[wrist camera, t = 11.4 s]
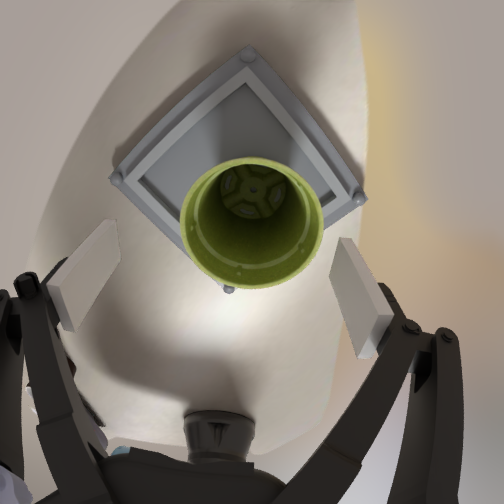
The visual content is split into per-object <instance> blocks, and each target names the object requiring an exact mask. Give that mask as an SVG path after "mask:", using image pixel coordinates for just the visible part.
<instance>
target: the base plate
mask: <svg viewBox="0 0 504 504" xmlns="http://www.w3.org/2000/svg"><path fill="white" fill-rule="evenodd" d="M248 156H258V157H263V158H266V159H269V160H273V161H276V162H279V163H281V164H284V165H286V166H288V167H290V168H291V169H293V170H294V171H296V172H297V173H298V174H300V175H301V176H302V177H303V178H304V179H305V180H306V181H307V182H308V183H309V185H310V186H311V187H312V188H313V190H314V192H315V193H316V195H317V197H318V199H319V202H320V204H321V207H322V211H323V218H324V230H325V229H326V228H328V227H329V226H331V225H332V224H334V223H335V222H337V221H338V220H339V219H341V218H342V217H344V216H345V215H347V214H348V213H350V212H351V211H352V210H354V209H355V208H357V207H358V206H361V205H363V204H364V203H365V201H367V200H368V198H367V196H366V195H365V193H364V191H363V190H362V188H361V187H360V185H359V183H358V182H357V180H356V179H355V177H354V176H353V174H352V173H351V171H350V169H349V168H348V166H347V165H346V163H345V162H344V161H343V159H342V158H341V156H340V155H339V153H338V152H337V150H336V149H335V147H334V146H333V145H332V143H331V142H330V140H329V139H328V138H327V136H326V135H325V134H324V132H323V131H322V129H321V128H320V127H319V125H318V124H317V123H316V121H315V120H314V119H313V118H312V116H311V115H310V114H309V112H308V111H307V110H306V108H305V107H304V106H303V105H302V103H301V102H300V101H299V100H298V98H297V97H296V96H295V95H294V94H293V92H292V91H291V90H290V89H289V88H288V86H287V85H286V84H285V83H284V82H283V80H282V79H281V78H280V77H279V76H278V75H277V74H276V72H275V71H274V70H273V69H272V68H271V67H270V66H269V65H268V63H267V62H266V61H265V60H264V59H263V58H262V57H261V56H260V55H259V54H258V53H257V52H256V50H255V49H254V48H253V47H252V46H251V45H250V44H249V45H248V46H247V47H245V48H244V49H243V50H241V51H240V52H239V53H237V54H236V55H235V56H233V57H232V58H231V59H229V60H228V61H227V62H225V63H224V64H223V65H222V66H220V67H219V68H218V69H217V70H215V71H214V72H213V73H212V74H211V75H209V76H208V77H207V78H206V79H205V80H203V81H202V82H201V83H200V84H199V85H198V86H196V87H195V88H194V89H193V90H192V91H191V92H190V93H189V94H187V95H186V96H185V97H184V98H183V99H182V100H181V101H180V102H179V103H178V104H177V105H176V106H174V107H173V108H172V109H171V110H170V111H169V112H168V113H167V114H166V115H165V116H164V117H163V118H162V119H161V120H160V121H159V122H158V123H157V124H156V125H155V126H154V127H153V128H152V129H151V130H150V131H149V132H148V133H147V134H146V135H145V137H144V138H143V139H142V140H141V141H140V142H139V143H138V144H137V145H136V146H135V147H134V148H133V150H132V151H131V152H130V153H129V154H128V155H127V156H126V157H125V159H124V160H123V161H122V162H121V163H120V164H119V165H118V167H117V168H116V169H115V170H114V171H113V173H112V174H111V175H110V176H109V177H108V178H109V179H110V182H111V183H112V185H114V186H116V187H117V188H118V189H119V190H120V191H121V192H122V193H123V194H124V195H125V196H126V197H127V198H128V199H129V200H130V201H131V202H132V203H133V204H134V205H135V206H136V207H137V208H138V209H139V210H140V211H141V212H142V213H143V214H144V215H145V216H146V217H147V218H148V219H149V220H150V221H151V222H152V223H153V224H154V225H156V226H157V227H158V228H159V229H160V230H161V231H162V232H163V233H164V234H165V235H166V236H167V237H168V238H169V239H170V240H171V241H172V242H173V243H174V244H175V245H176V246H177V247H178V248H179V249H181V250H182V251H183V252H184V253H185V254H186V255H187V256H188V257H189V258H190V259H191V257H190V256H189V254H188V253H187V251H186V249H185V246H184V244H183V241H182V237H181V233H180V213H181V208H182V204H183V201H184V198H185V196H186V194H187V192H188V191H189V189H190V188H191V186H192V185H193V184H194V182H195V181H196V180H197V179H198V178H199V177H200V176H201V175H202V174H204V173H205V172H206V171H208V170H209V169H211V168H212V167H214V166H216V165H218V164H220V163H223V162H225V161H228V160H232V159H237V158H243V157H248ZM253 165H257V166H261V167H264V168H268V166H264V165H258V164H253ZM231 178H232V176H231V175H230V176H228V178H227V180H226V183H225V188H226V189H227V190H228V189H229V183H230V180H231ZM251 192H256V188H254V187H252V188H251ZM280 195H281V190H280V188H279V189H278V193H277V196H276V198H275V199H274V202H277V201H278V200H279V198H280ZM240 211H241V212H242V213H245V214H250V215H252V214H254V212H250V211H246V210H244V209H240ZM191 260H192V259H191ZM212 279H213V278H212ZM213 280H214V281H215V282H216V283H217V284H218V285H220V286H221V287H222V288H223V290H224V292H225V293H228V294H231V293H233V292H234V290H236V289H237V288H236V287H232V286H228V285H225V284H223V283H220V282H218V281H217V280H215V279H213Z"/></svg>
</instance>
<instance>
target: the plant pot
mask: <svg viewBox="0 0 504 504" xmlns="http://www.w3.org/2000/svg"><path fill="white" fill-rule="evenodd" d="M253 164H258V165H264V166H268V168H264V167H261V166H257V165H253ZM230 175H231V176H232V178H231V180H230V183H229V189H228V190H227V189H226V188H225V183H226V180H227V178H228V176H230ZM252 187H254V188H256V192H251V188H252ZM279 188H280V190H281V195H280V198H279V200H278V201H277V202H274V199H275V198H276V196H277V193H278V189H279ZM240 209H244V210H246V211H250V212H254V214H252V215H250V214H245V213H242V212H241V211H240ZM323 232H324V218H323V211H322V207H321V204H320V202H319V199H318V197H317V195H316V193H315V192H314V190H313V188H312V187H311V186H310V185H309V183H308V182H307V181H306V180H305V179H304V178H303V177H302V176H301V175H300V174H298V173H297V172H296V171H294V170H293V169H291V168H290V167H288V166H286V165H284V164H281V163H279V162H276V161H273V160H269V159H266V158H263V157H258V156H248V157H243V158H237V159H232V160H228V161H225V162H223V163H220V164H218V165H216V166H214V167H212V168H211V169H209V170H208V171H206V172H205V173H204V174H202V175H201V176H200V177H199V178H198V179H197V180H196V181H195V182H194V184H193V185H192V186H191V188H190V189H189V191H188V192H187V194H186V196H185V198H184V201H183V204H182V208H181V213H180V233H181V237H182V241H183V244H184V246H185V249H186V251H187V253H188V254H189V256H190V257H191V259H192V261H193V262H194V263H195V264H196V265H197V266H198V268H199V269H201V270H202V271H203V272H204V273H205V274H207V275H208V276H210V277H211V278H213V279H215V280H217V281H218V282H220V283H223V284H225V285H228V286H232V287H236V288H241V289H261V288H268V287H272V286H275V285H279V284H281V283H284V282H286V281H288V280H290V279H292V278H293V277H295V276H296V275H298V274H299V273H300V272H302V271H303V270H304V269H305V268H306V267H307V266H308V265H309V263H310V262H311V261H312V259H313V258H314V257H315V255H316V253H317V251H318V249H319V247H320V244H321V241H322V237H323Z"/></svg>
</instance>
